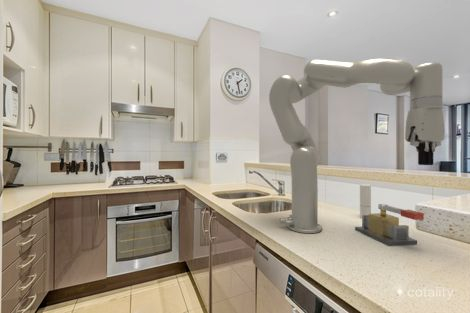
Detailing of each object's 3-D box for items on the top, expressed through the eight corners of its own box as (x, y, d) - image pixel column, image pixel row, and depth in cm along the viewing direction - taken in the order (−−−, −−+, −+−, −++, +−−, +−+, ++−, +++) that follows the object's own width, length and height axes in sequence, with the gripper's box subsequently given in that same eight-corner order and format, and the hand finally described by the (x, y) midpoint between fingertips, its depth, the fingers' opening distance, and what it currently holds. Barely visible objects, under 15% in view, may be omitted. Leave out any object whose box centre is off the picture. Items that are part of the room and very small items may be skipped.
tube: (365, 219, 95) (365, 185, 95) (357, 217, 99) (357, 184, 99) (373, 219, 96) (373, 185, 96) (365, 216, 100) (365, 184, 100)
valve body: (388, 246, 66) (388, 216, 66) (355, 230, 81) (355, 205, 81) (417, 244, 68) (417, 214, 68) (379, 228, 82) (378, 204, 82)
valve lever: (376, 208, 76) (376, 203, 76) (383, 208, 76) (383, 203, 76) (414, 219, 62) (414, 213, 62) (423, 219, 62) (423, 213, 62)
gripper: (430, 109, 72) (430, 164, 72) (394, 106, 68) (394, 164, 68) (458, 104, 64) (458, 165, 64) (419, 100, 61) (419, 165, 61)
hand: (425, 164), depth 66 cm, fingers closed
